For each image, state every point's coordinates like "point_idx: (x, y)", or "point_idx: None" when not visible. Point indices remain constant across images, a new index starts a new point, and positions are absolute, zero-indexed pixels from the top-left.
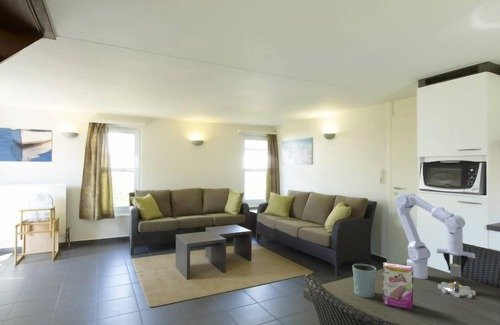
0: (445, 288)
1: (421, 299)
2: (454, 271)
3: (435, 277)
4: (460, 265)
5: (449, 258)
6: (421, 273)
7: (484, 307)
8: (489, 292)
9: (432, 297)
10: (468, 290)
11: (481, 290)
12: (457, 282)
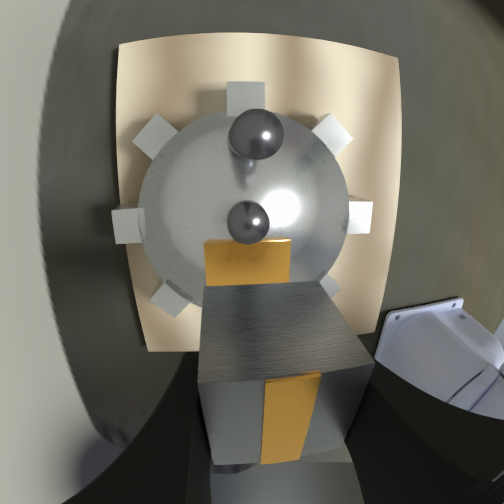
0: (327, 151)
1: (415, 9)
2: (289, 316)
3: None
4: (213, 452)
5: (458, 463)
6: (434, 333)
7: (91, 62)
8: (82, 346)
9: (379, 48)
10: (155, 220)
11: (115, 355)
12: (246, 122)
